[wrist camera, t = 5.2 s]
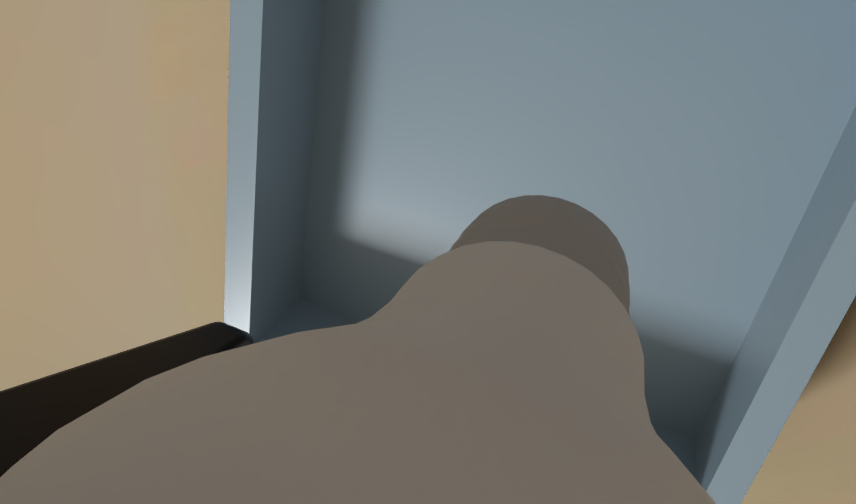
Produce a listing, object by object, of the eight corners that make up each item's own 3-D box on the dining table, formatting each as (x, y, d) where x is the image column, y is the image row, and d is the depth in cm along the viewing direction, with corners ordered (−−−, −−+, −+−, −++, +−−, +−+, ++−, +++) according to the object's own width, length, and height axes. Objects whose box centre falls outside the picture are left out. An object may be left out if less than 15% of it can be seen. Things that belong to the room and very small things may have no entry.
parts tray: (715, 446, 22) (713, 552, 18) (291, 295, 25) (223, 363, 22) (968, -60, 15) (1038, -35, 11) (327, -185, 18) (234, -194, 14)
